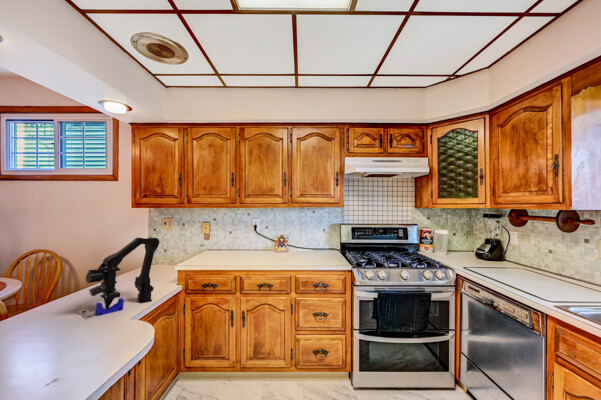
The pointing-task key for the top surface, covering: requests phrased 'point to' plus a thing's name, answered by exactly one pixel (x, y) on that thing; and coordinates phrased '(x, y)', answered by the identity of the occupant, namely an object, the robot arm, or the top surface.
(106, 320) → the top surface
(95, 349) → the top surface
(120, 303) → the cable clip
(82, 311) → the steel strip
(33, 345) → the top surface
